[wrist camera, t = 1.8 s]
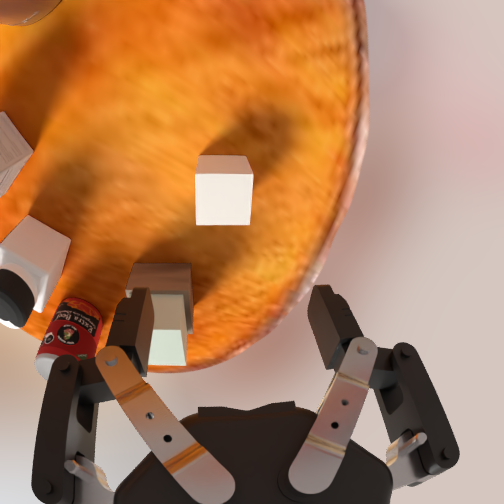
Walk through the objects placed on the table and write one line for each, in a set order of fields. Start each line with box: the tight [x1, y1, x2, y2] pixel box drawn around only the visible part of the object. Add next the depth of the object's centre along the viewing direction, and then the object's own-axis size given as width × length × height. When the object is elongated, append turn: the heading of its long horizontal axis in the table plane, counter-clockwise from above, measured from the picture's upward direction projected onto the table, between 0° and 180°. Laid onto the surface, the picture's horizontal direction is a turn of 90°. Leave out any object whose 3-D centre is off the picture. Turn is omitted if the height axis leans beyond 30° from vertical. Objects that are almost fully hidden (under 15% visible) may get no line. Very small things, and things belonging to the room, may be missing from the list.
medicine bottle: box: [0, 215, 71, 329], centre depth 25 cm, size 7×7×12 cm
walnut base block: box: [125, 263, 194, 334], centre depth 33 cm, size 7×7×5 cm
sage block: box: [128, 294, 187, 366], centre depth 29 cm, size 6×6×5 cm
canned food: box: [35, 298, 103, 381], centre depth 32 cm, size 8×8×11 cm
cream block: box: [195, 155, 254, 225], centre depth 26 cm, size 5×5×6 cm
